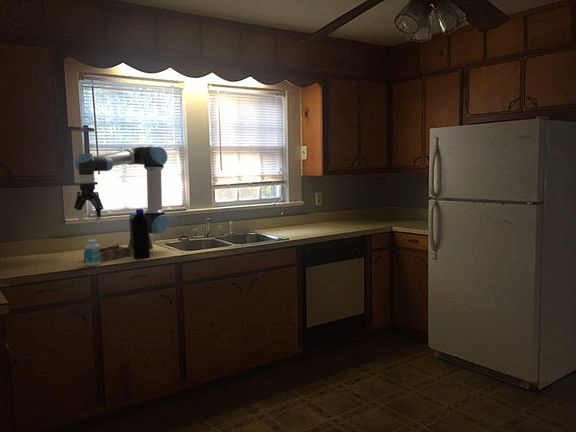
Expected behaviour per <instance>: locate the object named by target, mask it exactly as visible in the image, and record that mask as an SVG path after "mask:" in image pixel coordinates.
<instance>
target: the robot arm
mask: <svg viewBox="0 0 576 432" xmlns="http://www.w3.org/2000/svg"><path fill="white" fill-rule="evenodd" d="M167 161H168V152H167V150H166V149H165V147H163V146H162V145H156V144H155V145H139V146H136V147H132V148H126V149H125V150H124V151H117V152H114V153H113V152H112V153H106V154H99V155H93V153H79V154H78V155H77V159H76V160H75V161H74V167H75V168H76V170H78V178H79V179H78V181H79V191H77V193H76V199H75V203H74V206H73V208H74V209H76V210H77V211H76V212H77V217H78V218H77V219H78V221H77V222H78V223H82V222H84V209H83V207H84V206H85V203H86V201H89V202H90V203H91V205H92V207H93V208H94V209H95V210H94V217H95V224H101V222H102V220H101V217H102V216H101V215H102V213H101V211H102V210H104V206H103V204H102V201H101V198H100V195H99V192H98V191H95V189H96V184H95V182H96V181H95V172H108V171H111V170H113V167H116V166H122V165H129V166H132V165H143V168H144V169H145V170H146V193H147V196H146V197H147V198H146V199H147V200H146V201H147V202H146V203H147V208H146V211H144V213H143V214H144V215H145V216H146V217H147V218H148V227H149V234H155V235H156V234H157V235H159V234H160V235H161V234H164V233H165V232H166V231H167V230H168V228H169V224H170V222H169V218H168V216H167V215H165V210H163V202H162V201H163V199H162V198H163V196H162V195H163V193H162V170H163V169H164V165H165V164H166V163H167ZM136 214H137V213H136V212H135V213H130V214H129V217H128V218H129V219H128V224H129V241H128V244H127V247H130V246H133V228H132V219H133V218H134V217H135V216H136ZM153 244H154V243H152V239H151V237H150V235H149V247H150V249H151V250H152V249H153V247H154V246H153ZM133 251H134V247H133Z"/></svg>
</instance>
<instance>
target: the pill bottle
mask: <svg viewBox="0 0 576 432" xmlns="http://www.w3.org/2000/svg"><path fill="white" fill-rule="evenodd" d="M97 242H98V241H97V239H88V240H87V244H86V245H85V246H84V252H85V255H86V260H85V266H87V267H88V266H89V267H94V266H95V267H96V266H99V265H101V263H102V262H101V260H100V248H101V245H100V244H99V243H97Z"/></svg>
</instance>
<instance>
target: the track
mask: <svg viewBox="0 0 576 432" xmlns="http://www.w3.org/2000/svg"><path fill="white" fill-rule="evenodd" d="M130 256H134V250H133V246H130V247H128V246H126V247H125V246H120V245H119V244H116V245H115V244H114V245H110V246H104V247H100V260H101V263H103V261H104V262H108V261H111V260H116V259H121V258H124V257H130ZM83 259H84V261H86V255H85V251H83Z"/></svg>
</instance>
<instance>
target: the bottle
mask: <svg viewBox="0 0 576 432" xmlns="http://www.w3.org/2000/svg"><path fill="white" fill-rule="evenodd" d="M144 212H145V211H144V209H143V208H137V209H135V213H137V214H136V216H135V217H134V218H133V219H132V228H133V247H134V250H133V258H134V259H136V260H142V259H143V260H144V259H149V258H150V257H151V252H150V251H151V250H150V247H149V236H150V233H149V227H148V218H147V217H146V216H145V215H144V214H143V213H144Z"/></svg>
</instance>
